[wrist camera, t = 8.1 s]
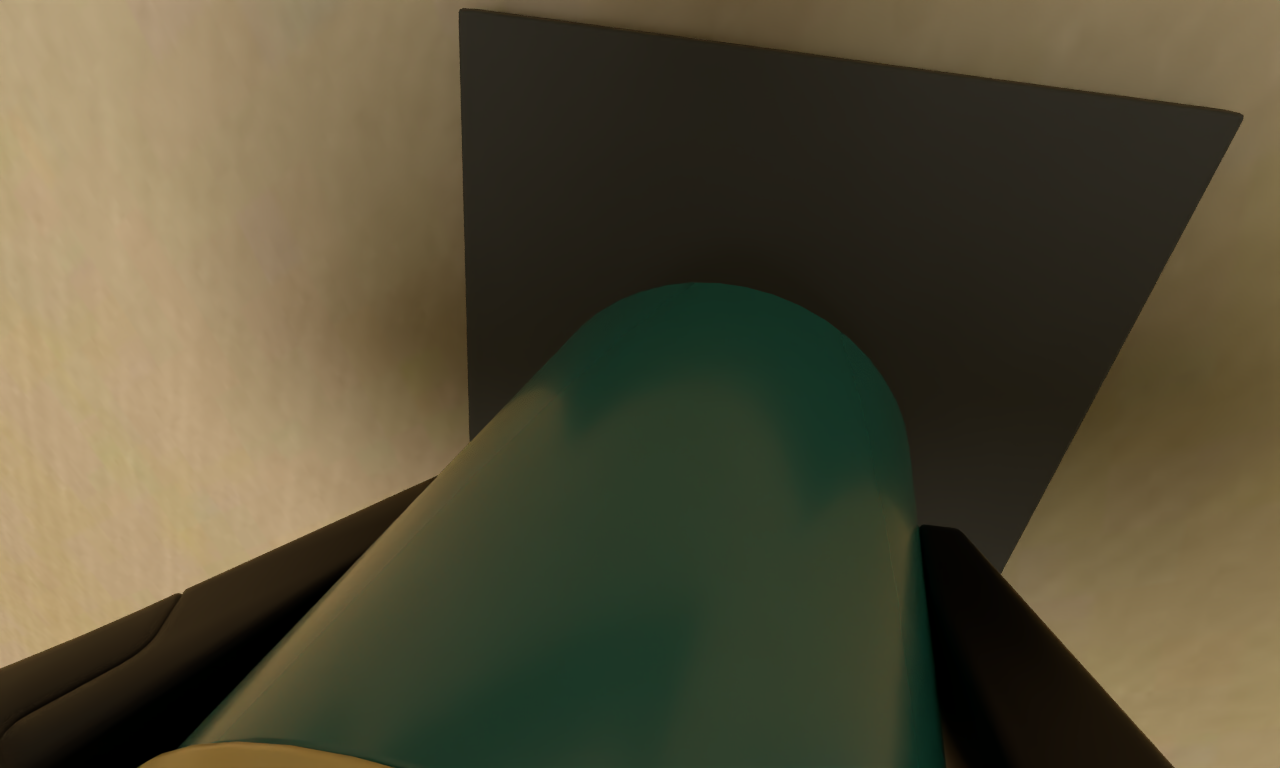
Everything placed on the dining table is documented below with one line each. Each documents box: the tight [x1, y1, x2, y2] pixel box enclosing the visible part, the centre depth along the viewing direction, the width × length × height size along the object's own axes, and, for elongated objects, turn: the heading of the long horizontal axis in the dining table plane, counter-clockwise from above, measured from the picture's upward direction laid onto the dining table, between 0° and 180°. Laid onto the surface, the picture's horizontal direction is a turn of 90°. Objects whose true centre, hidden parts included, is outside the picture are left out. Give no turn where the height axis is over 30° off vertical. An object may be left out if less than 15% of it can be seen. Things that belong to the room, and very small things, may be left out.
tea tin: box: [137, 283, 946, 768], centre depth 6 cm, size 5×5×7 cm
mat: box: [459, 8, 1244, 574], centre depth 11 cm, size 10×10×1 cm
